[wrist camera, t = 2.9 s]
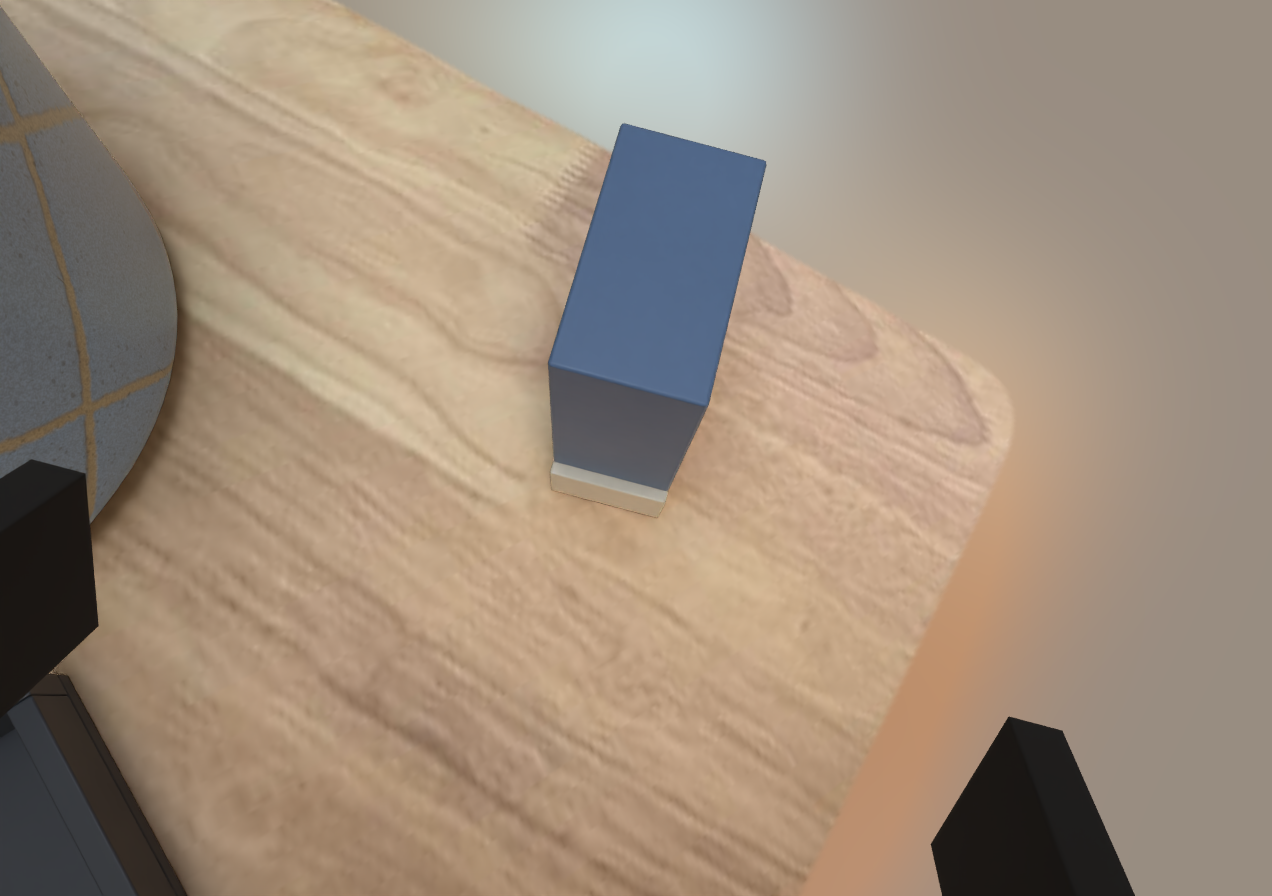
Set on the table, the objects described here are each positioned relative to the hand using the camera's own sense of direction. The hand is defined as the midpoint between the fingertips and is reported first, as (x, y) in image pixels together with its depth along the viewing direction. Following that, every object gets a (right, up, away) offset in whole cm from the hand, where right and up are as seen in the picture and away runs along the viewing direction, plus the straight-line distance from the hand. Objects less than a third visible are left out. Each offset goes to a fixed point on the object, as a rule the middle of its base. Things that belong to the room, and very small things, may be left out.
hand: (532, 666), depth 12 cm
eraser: (+1, +5, +20) cm, 20 cm away
